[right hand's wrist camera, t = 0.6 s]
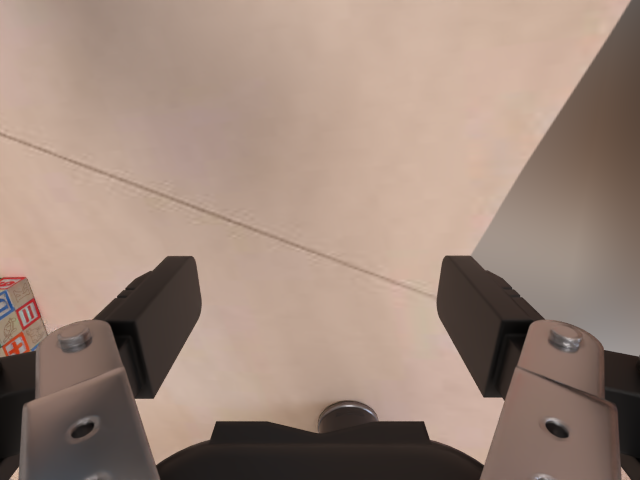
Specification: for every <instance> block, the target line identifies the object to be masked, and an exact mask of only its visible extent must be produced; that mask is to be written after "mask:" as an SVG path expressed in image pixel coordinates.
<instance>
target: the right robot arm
mask: <svg viewBox="0 0 640 480" xmlns="http://www.w3.org/2000/svg"><path fill="white" fill-rule="evenodd" d="M201 306H202V301H201V293H200V286H199V280H198V273H197V266H196V262H195V259H194V257H192V256H167V257H166V258H165V259H164V260H163V261H162V262H161V263H160V264H159V265H158V266H157V267H156V268H155V269H154V270H153V271H149V272H147V273H146V274H144V275H142V276H140V277H138V278H136V279H135V280H134V281H133V282H132V283H130V284H129V285H128V286H127V287H126V288H125V290H123V291H122V292H121V293H120V294H119V295H118V296H117V298H115V299H114V300H113V301H112V302H111V303H110V304H108V305H107V306H106V307H105V308H104V309H103V310H102V311H101V312H100V313H99V314H98V315H97V316H96V317H95V318H94V319H93V320H85V321H80V322H76V323H72V324H69V325H66V326H64V327H62V328H59V329H57V330H55V331H54V332H52V333H50V334H49V335H47V336H46V337H45V338H44V339H43V340H42V341H41V342H40V343H39V344H38V346H37V348H36V351H31V352H26V353H21V354H15V355H10V356H5V357H0V480H9V479H10V477H11V476H12V475H13V473H14V472H15V471H16V470H17V468H18V467H19V480H621V467H622V468H623V470H624V471H625V472H626V473H627V475H628V476H629V477H630V479H631V480H640V356H639V357H638V356H632V355H627V354H622V353H616V352H611V351H606V350H604V348H603V346H602V344H601V343H600V342H599V341H598V340H597V339H596V338H595V337H594V336H592V335H591V334H590V333H588V332H586V331H585V330H583V329H580V328H578V327H576V326H574V325H571V324H568V323H564V322H560V321H555V320H545V319H544V318H543V317H542V316H541V315H540V314H539V313H538V312H537V311H536V310H535V309H534V308H533V307H532V306H531V305H530V304H529V303H528V302H526V301H525V300H524V299H523V298H522V297H520V295H519V294H518V293H517V292H516V291H515V290H512V287H511V286H510V285H509V284H508V283H507V282H506V281H505V280H504V279H503V278H501V277H499V276H497V275H495V274H493V273H491V272H490V271H485V270H484V269H483V268H482V267H481V266H480V265H479V264H478V263H477V262H476V261H475V260H474V259H473V258H472V257H471V256H445V257H444V259H443V261H442V267H441V273H440V280H439V287H438V294H437V311H438V315H439V318H440V320H441V321H442V323H443V325H444V327H445V329H446V330H447V332H448V334H449V336H450V338H451V339H452V341H453V343H454V345H455V347H456V348H457V350H458V352H459V354H460V356H461V358H462V359H463V361H464V363H465V365H466V367H467V368H468V370H469V372H470V374H471V376H472V377H473V379H474V381H475V383H476V385H477V386H478V388H479V390H480V392H481V394H482V395H483V397H502V398H503V399H504V401H505V402H504V405H503V408H502V411H501V414H500V418H499V421H498V424H497V427H496V430H495V433H494V436H493V440H492V443H491V446H490V449H489V452H488V455H487V458H486V462H485V465H483V464H481V463H480V462H478V461H477V460H475V459H474V458H472V457H470V456H468V455H467V454H465V453H463V452H461V451H459V450H457V449H455V448H453V447H450V446H448V445H445V444H442V443H439V442H436V441H432V440H430V439H429V436H428V433H427V430H426V427H425V424H424V421H378V417H377V415H376V413H375V412H374V411H373V410H372V409H371V408H370V407H368V406H366V405H364V404H362V403H358V402H340V403H337V404H334V405H332V406H330V407H328V408H327V409H326V410H324V411H323V413H322V414H321V415H320V417H319V420H318V432H319V433H313V432H309V431H305V430H300V429H296V428H292V427H288V426H284V425H280V424H276V423H271V422H267V421H216V424H215V427H214V430H213V433H212V436H211V439H210V440H208V441H204V442H201V443H198V444H195V445H192V446H190V447H187V448H185V449H183V450H181V451H179V452H177V453H175V454H173V455H172V456H170V457H168V458H166V459H165V460H163V461H162V462H160V463H159V464H157V465H155V462H154V458H153V455H152V452H151V449H150V446H149V443H148V440H147V436H146V433H145V430H144V427H143V424H142V421H141V418H140V414H139V411H138V408H137V405H136V402H135V399H154V397H155V395H156V394H157V392H158V390H159V388H160V386H161V385H162V383H163V381H164V379H165V378H166V376H167V374H168V372H169V370H170V369H171V367H172V365H173V363H174V362H175V360H176V358H177V356H178V354H179V353H180V351H181V349H182V347H183V346H184V344H185V342H186V340H187V338H188V337H189V335H190V333H191V331H192V329H193V328H194V326H195V324H196V322H197V321H198V319H199V316H200V313H201Z"/></svg>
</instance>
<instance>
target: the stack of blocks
mask: <svg viewBox="0 0 640 480" xmlns="http://www.w3.org/2000/svg"><path fill="white" fill-rule="evenodd" d="M40 317H41V316H40V313H39V310H38V308H37V305H36V302H35V300H34V298H33V294H32V291H31V288H30V286H29V283H28V280H27V278H25V277H16V278H0V357H5V356H10V355H15V354H21V353H26V352H31V351H36V348H37V346H38V344H39V343H40V342H41V341H42V340H43V339H44V338H45V337H46V336H47V333H46V331H45V328H44V325H43V323H42V320H41V318H40Z"/></svg>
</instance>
